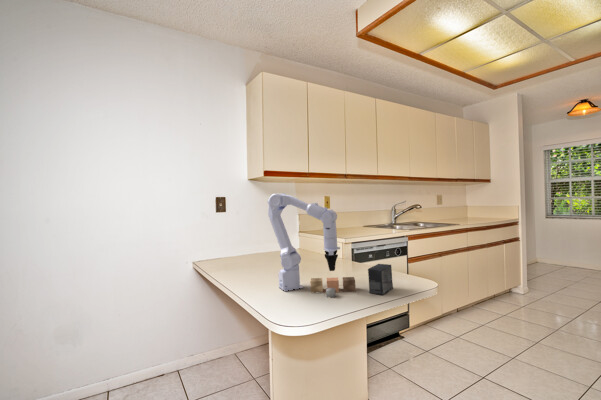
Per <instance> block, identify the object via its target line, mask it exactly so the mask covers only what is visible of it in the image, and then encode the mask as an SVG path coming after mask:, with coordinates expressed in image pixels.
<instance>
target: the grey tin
mask: <svg viewBox="0 0 601 400" xmlns="http://www.w3.org/2000/svg"><path fill="white" fill-rule="evenodd" d="M336 296H337V292H336V290H335V288H327V287H326V288H325V297H326V298H328V297H330V298H331V299H332V298H336ZM330 298H329V299H330Z"/></svg>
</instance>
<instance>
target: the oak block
mask: <svg viewBox="0 0 601 400" xmlns="http://www.w3.org/2000/svg"><path fill="white" fill-rule="evenodd" d="M311 292H324V289H323V277H315V278H314V277H313V278H312V277H311V278H310V293H311Z"/></svg>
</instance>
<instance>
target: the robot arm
mask: <svg viewBox="0 0 601 400" xmlns="http://www.w3.org/2000/svg"><path fill="white" fill-rule="evenodd" d="M267 204H268V207H267V208H268V209H267V210H268V211H267V214H268V219H269V220H270V224H271V226H272V230H273V232H274V234H275V237H276V240H277V243H278V246H279V248H280V255H279V257H280V264H281V267H282V269H280V270H279V271H278V288H279V287H280V288H279V289H280V290H282V291H283V290H284V291H283V292H288V290H289V291H294V290H293V289H295V290H299V288H300V289H304V287H305V286H303V285H301V277H300V276H301V275H300V273H301V272H300V263H301V261H302V258H301V257H302V256H301V255H300V254H299V253H298V252H297V249H296V248H295V247H294V246H293V245H292V243H291V239H290V236H289V235H288V232H287V229H286V227H285V223H284V222H283V219H282V218H283V217H282V216H281V215H282V213H283V210H284V209H285V208H286V207H287V206H293V207H296V208H298V209H301V210H303V211H305V212H306V214H307V215H308V216H311V217H312V218H315V219H316V220H319V221H321V222H322V226H323V227H322V231H323V250H324V258H325V260H326V262H327V266H328V270H329V272H334V271H335V270H336V264H337V259H338V256H339V254H337V253H338V250H341V246H338V238H337V237H338V235H337V219H338V214H337V213H336V211H334V210H333V209H328V207H326V206H325V207H324V206H322V205H319V203H318V202H314V203H313V202H311V203H307V202H305V201H304V200H302V199H299V198H297V197H296V196H293V195H290V194H286V193H284V192H283V193H272V194H271V195H270V197H269V198H268V200H267Z"/></svg>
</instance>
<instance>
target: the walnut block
mask: <svg viewBox="0 0 601 400" xmlns="http://www.w3.org/2000/svg"><path fill="white" fill-rule="evenodd" d="M342 286H343V287H342V289H343V292H344V293H349V292H350V293H351V292H354V293H356V289H357V288H356V279H355V277H354V276H343V277H342Z"/></svg>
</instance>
